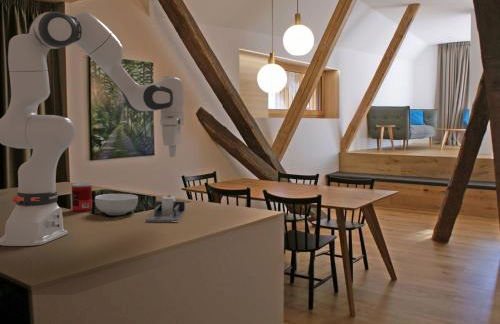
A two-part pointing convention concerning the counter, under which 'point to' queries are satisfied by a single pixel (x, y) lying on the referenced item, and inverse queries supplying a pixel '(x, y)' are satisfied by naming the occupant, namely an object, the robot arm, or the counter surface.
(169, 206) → the lock block
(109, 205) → the cereal bowl
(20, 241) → the robot arm
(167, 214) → the coupler rail
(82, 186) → the canned food
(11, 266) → the counter surface
